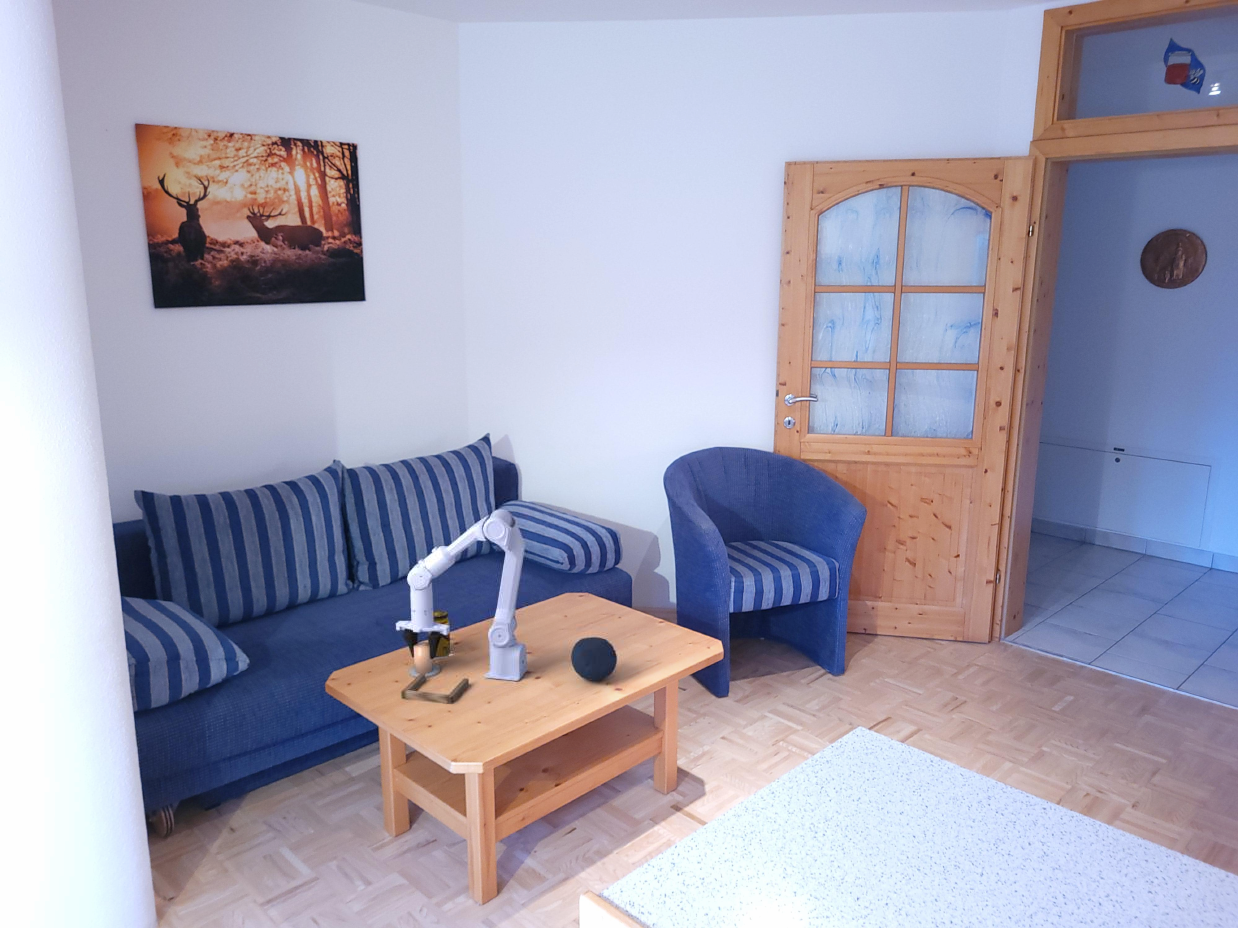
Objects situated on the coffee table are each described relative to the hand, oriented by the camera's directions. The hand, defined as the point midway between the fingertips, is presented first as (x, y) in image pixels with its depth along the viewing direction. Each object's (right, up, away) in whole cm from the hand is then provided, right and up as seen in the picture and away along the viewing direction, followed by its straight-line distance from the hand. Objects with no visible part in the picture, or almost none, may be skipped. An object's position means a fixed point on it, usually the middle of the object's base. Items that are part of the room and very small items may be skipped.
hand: (423, 656), depth 249 cm
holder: (+6, -6, -11) cm, 13 cm away
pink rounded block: (0, -3, +1) cm, 4 cm away
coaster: (0, -4, +1) cm, 4 cm away
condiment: (+1, -2, +13) cm, 13 cm away
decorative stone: (+45, -5, -3) cm, 46 cm away
